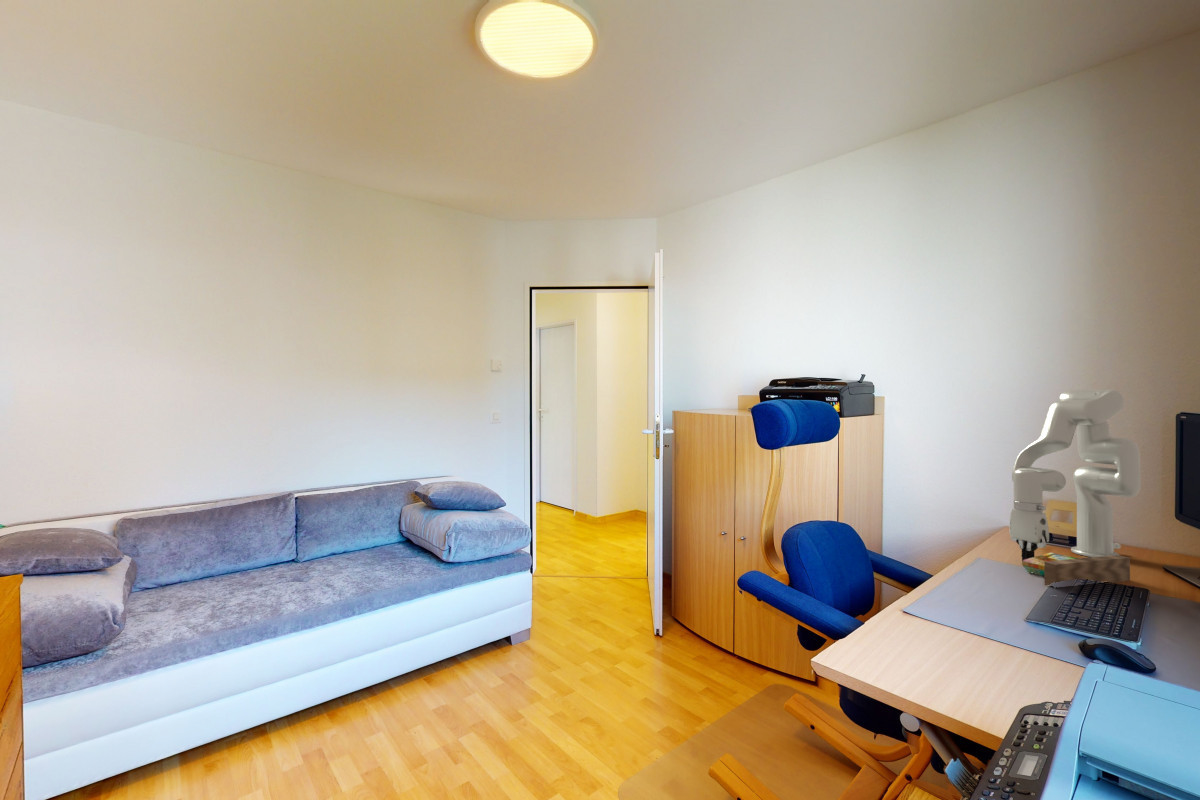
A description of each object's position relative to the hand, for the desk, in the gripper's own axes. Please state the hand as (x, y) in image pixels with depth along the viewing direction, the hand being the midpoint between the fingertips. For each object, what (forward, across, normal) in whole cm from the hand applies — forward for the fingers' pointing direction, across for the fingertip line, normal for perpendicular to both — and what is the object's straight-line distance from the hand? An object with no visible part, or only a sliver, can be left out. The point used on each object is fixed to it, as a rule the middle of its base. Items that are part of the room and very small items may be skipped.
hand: (1027, 561), depth 175 cm
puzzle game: (+2, -8, -2) cm, 8 cm away
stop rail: (+1, -18, 0) cm, 18 cm away
